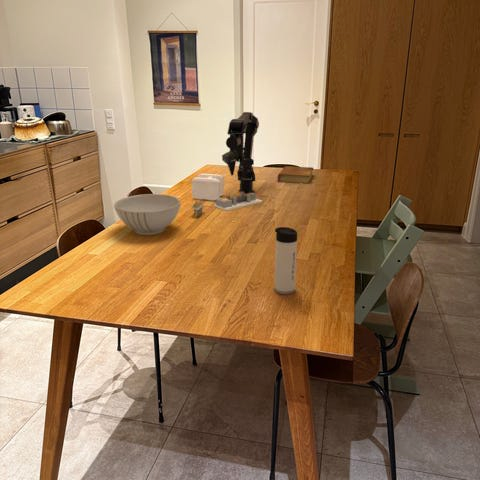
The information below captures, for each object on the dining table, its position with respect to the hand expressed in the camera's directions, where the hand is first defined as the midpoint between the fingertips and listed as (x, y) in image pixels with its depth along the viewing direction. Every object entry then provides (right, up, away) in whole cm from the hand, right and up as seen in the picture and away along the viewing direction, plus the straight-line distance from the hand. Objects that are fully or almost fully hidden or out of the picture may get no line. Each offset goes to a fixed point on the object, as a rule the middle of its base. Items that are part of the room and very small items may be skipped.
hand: (237, 176), depth 231 cm
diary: (+35, +5, +49) cm, 60 cm away
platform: (-18, -21, -20) cm, 34 cm away
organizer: (-15, -10, +7) cm, 20 cm away
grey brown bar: (0, -13, -4) cm, 14 cm away
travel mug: (+15, -48, -91) cm, 104 cm away
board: (0, -14, -4) cm, 15 cm away
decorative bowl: (-37, -28, -40) cm, 61 cm away
